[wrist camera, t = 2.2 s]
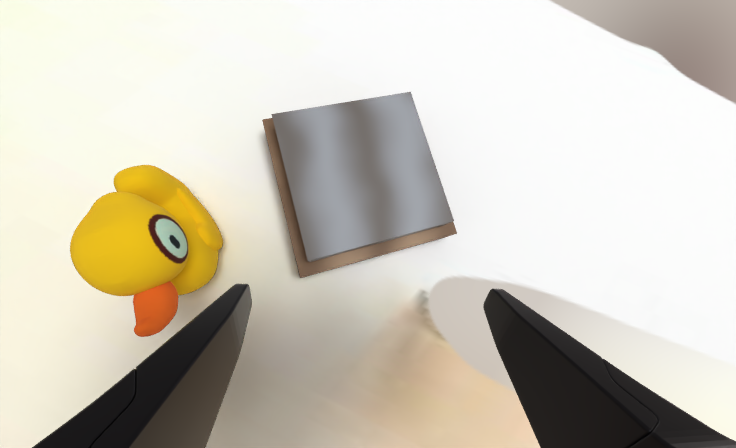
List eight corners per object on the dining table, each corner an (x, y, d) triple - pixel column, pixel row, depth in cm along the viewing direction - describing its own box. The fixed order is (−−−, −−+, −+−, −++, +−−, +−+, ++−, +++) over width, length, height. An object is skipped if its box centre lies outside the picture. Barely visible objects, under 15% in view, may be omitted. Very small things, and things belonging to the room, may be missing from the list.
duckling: (250, 299, 22) (189, 318, 12) (183, 326, 21) (59, 371, 11) (209, 179, 24) (125, 112, 14) (144, 199, 22) (4, 141, 13)
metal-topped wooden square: (303, 277, 23) (297, 278, 19) (268, 134, 25) (256, 105, 21) (444, 237, 26) (468, 229, 21) (403, 111, 28) (417, 80, 23)
